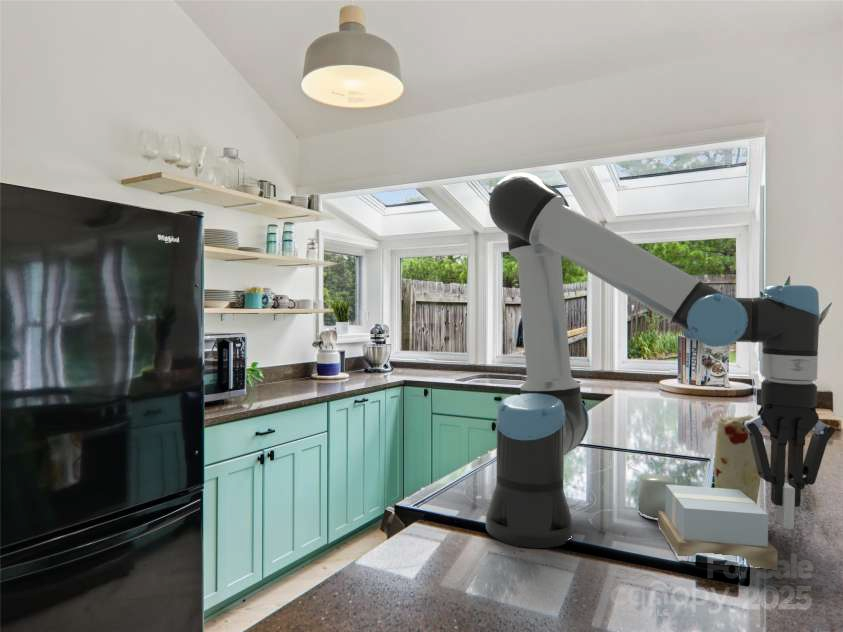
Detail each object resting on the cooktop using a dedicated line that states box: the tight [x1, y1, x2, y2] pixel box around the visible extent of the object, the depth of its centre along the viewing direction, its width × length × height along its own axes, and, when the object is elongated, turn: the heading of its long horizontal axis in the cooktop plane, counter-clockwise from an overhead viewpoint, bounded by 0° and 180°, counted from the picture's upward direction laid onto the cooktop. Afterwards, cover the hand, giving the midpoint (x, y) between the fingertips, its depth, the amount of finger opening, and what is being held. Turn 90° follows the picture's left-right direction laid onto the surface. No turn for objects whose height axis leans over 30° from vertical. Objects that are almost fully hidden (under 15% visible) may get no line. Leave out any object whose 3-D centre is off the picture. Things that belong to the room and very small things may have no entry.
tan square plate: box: [657, 510, 778, 571], centre depth 92 cm, size 14×14×3 cm
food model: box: [713, 415, 762, 505], centre depth 103 cm, size 10×7×20 cm
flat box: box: [665, 484, 769, 547], centre depth 92 cm, size 12×12×5 cm
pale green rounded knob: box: [637, 473, 677, 518], centre depth 106 cm, size 6×6×7 cm
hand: (784, 525), depth 90 cm, fingers closed
